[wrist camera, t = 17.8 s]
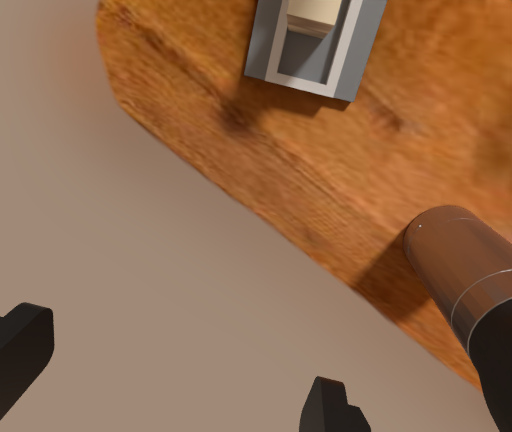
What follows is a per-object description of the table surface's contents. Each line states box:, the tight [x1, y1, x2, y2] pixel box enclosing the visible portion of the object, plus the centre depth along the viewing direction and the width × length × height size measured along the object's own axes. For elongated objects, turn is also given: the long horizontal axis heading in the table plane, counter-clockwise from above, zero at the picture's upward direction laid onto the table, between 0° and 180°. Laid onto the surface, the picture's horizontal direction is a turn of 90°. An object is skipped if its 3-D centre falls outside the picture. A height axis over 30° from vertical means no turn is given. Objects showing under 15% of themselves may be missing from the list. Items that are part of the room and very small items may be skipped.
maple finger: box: [287, 0, 342, 39], centre depth 28 cm, size 4×4×10 cm
